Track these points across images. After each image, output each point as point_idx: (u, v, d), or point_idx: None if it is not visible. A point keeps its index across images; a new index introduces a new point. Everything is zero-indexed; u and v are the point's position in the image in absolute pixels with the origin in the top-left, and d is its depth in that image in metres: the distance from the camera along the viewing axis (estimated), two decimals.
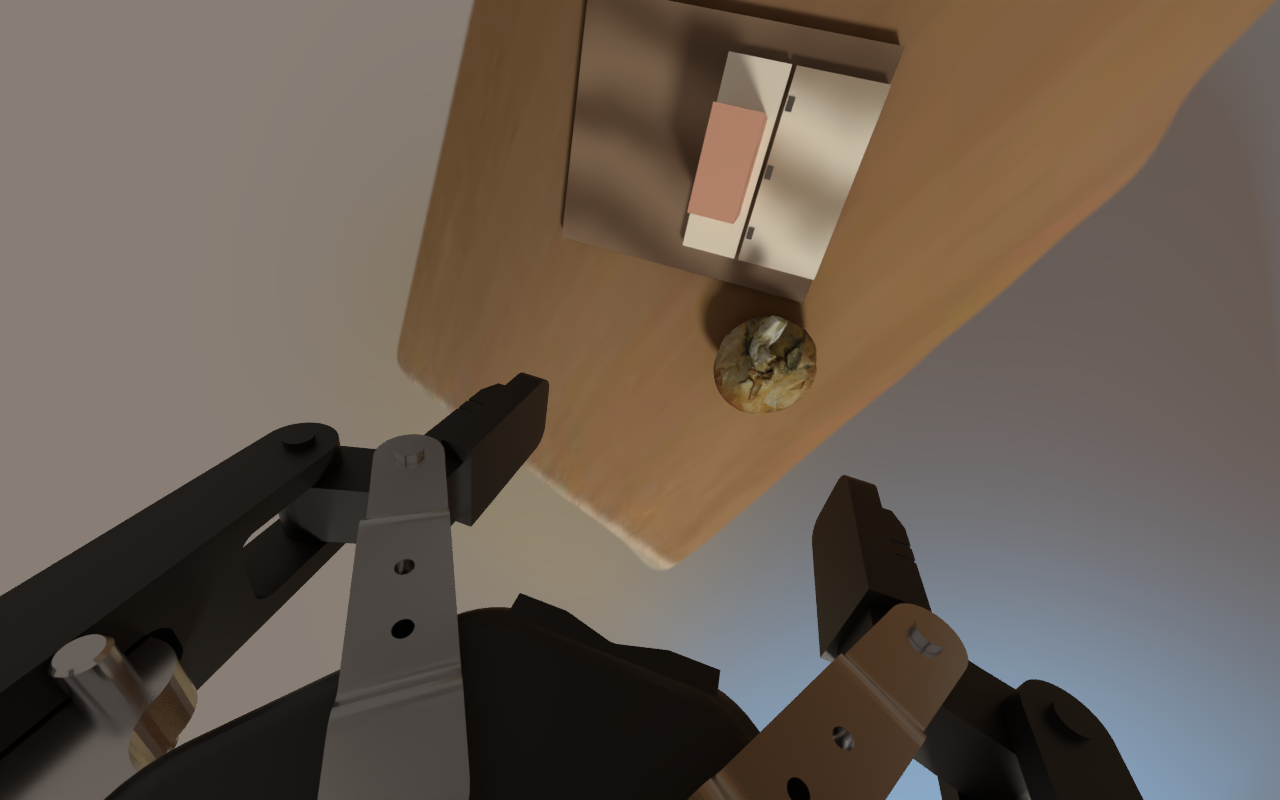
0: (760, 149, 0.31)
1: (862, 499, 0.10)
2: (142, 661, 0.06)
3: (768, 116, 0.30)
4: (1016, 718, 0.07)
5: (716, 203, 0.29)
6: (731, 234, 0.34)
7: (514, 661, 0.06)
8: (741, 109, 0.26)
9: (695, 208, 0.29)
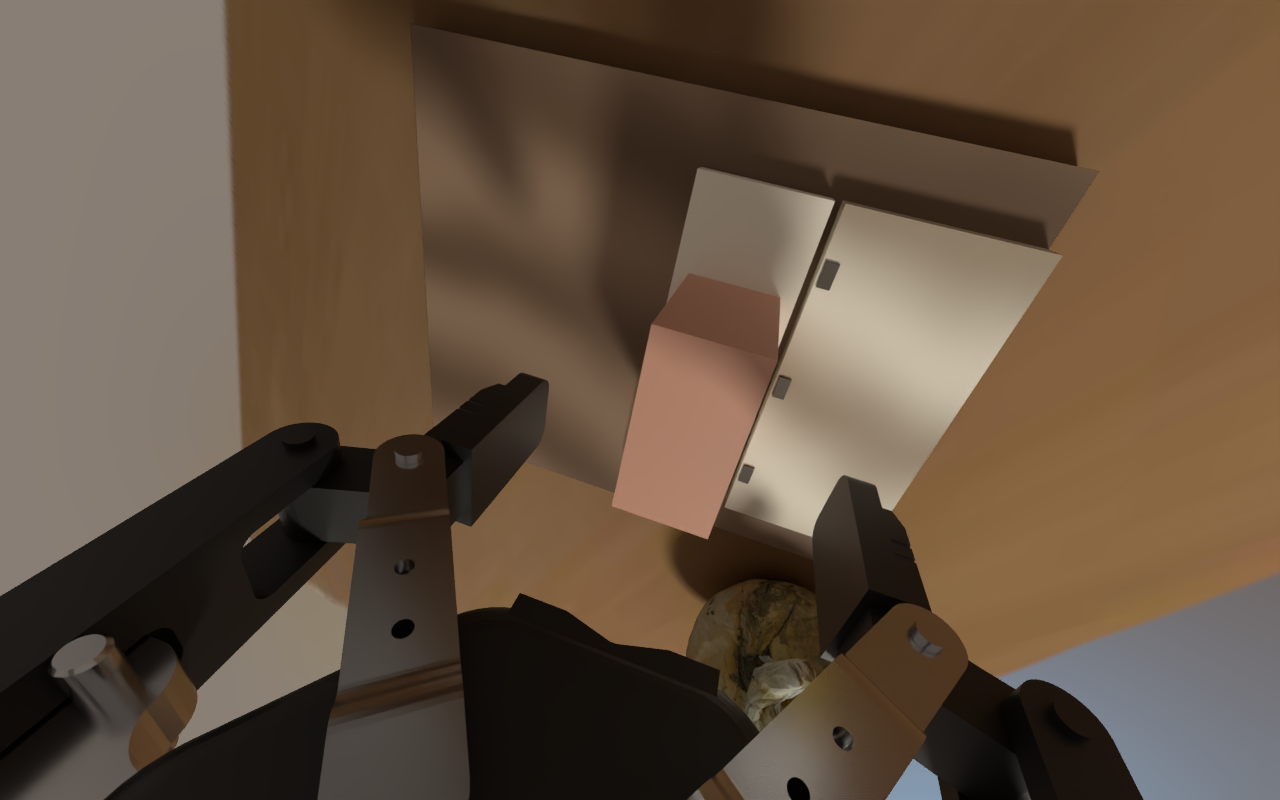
0: None
1: (862, 499, 0.10)
2: (142, 661, 0.06)
3: (781, 294, 0.15)
4: (1016, 718, 0.07)
5: (671, 502, 0.13)
6: None
7: (514, 661, 0.06)
8: (719, 347, 0.11)
9: (627, 502, 0.14)
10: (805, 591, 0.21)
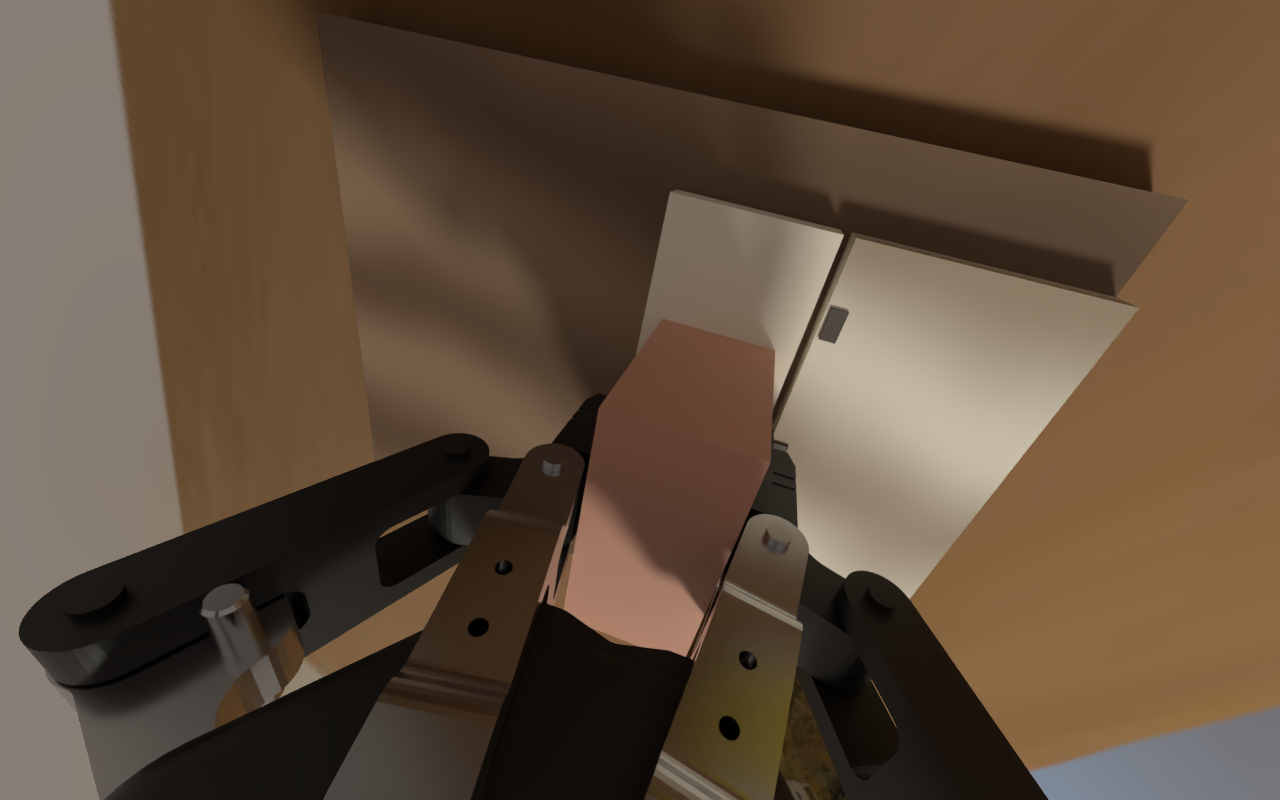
0: None
1: None
2: (269, 618, 0.06)
3: (777, 346, 0.12)
4: (847, 613, 0.08)
5: (635, 618, 0.10)
6: None
7: None
8: (690, 441, 0.08)
9: (581, 613, 0.11)
10: None
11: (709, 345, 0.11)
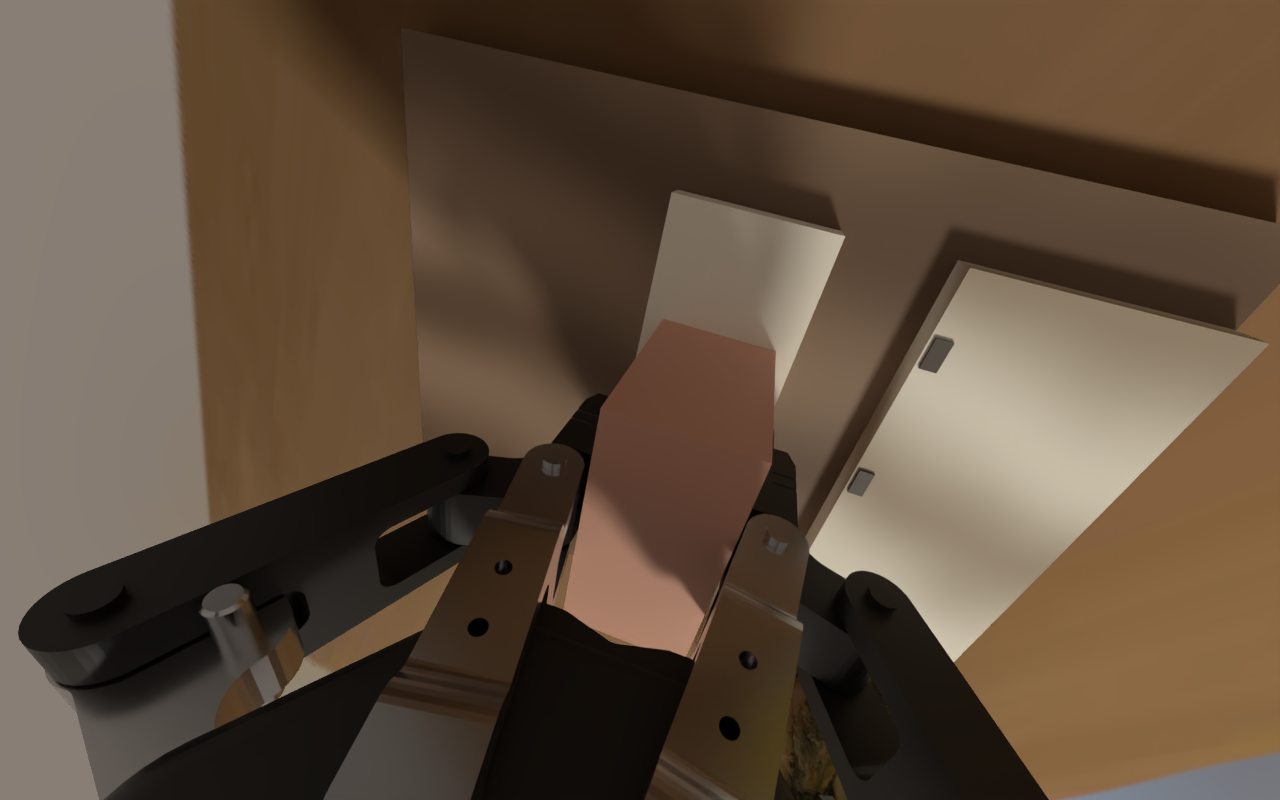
0: None
1: None
2: (269, 618, 0.06)
3: (777, 347, 0.12)
4: (848, 614, 0.08)
5: (635, 619, 0.10)
6: None
7: None
8: (692, 442, 0.08)
9: (581, 614, 0.11)
10: None
11: (710, 346, 0.11)
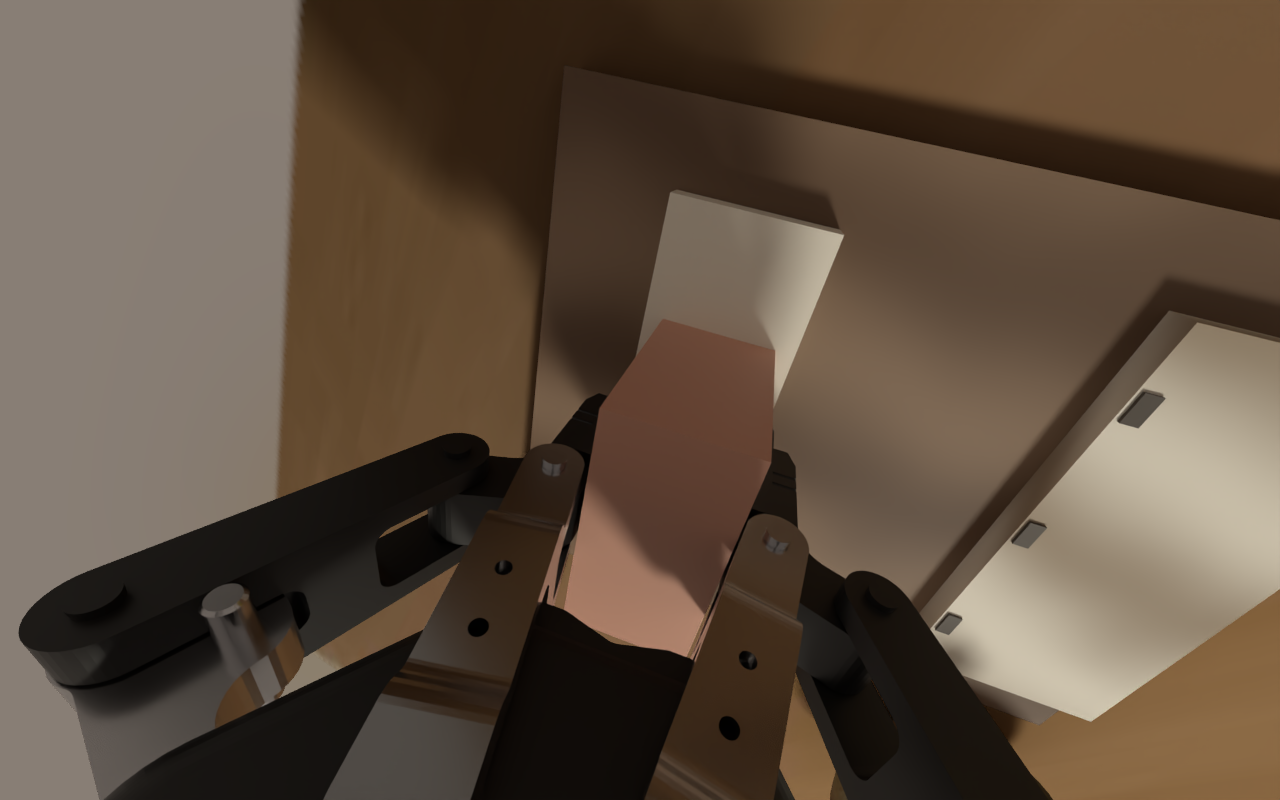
0: None
1: None
2: (269, 618, 0.07)
3: (777, 346, 0.12)
4: (847, 613, 0.08)
5: (636, 619, 0.10)
6: None
7: None
8: (691, 441, 0.08)
9: (581, 613, 0.11)
10: None
11: (709, 345, 0.11)
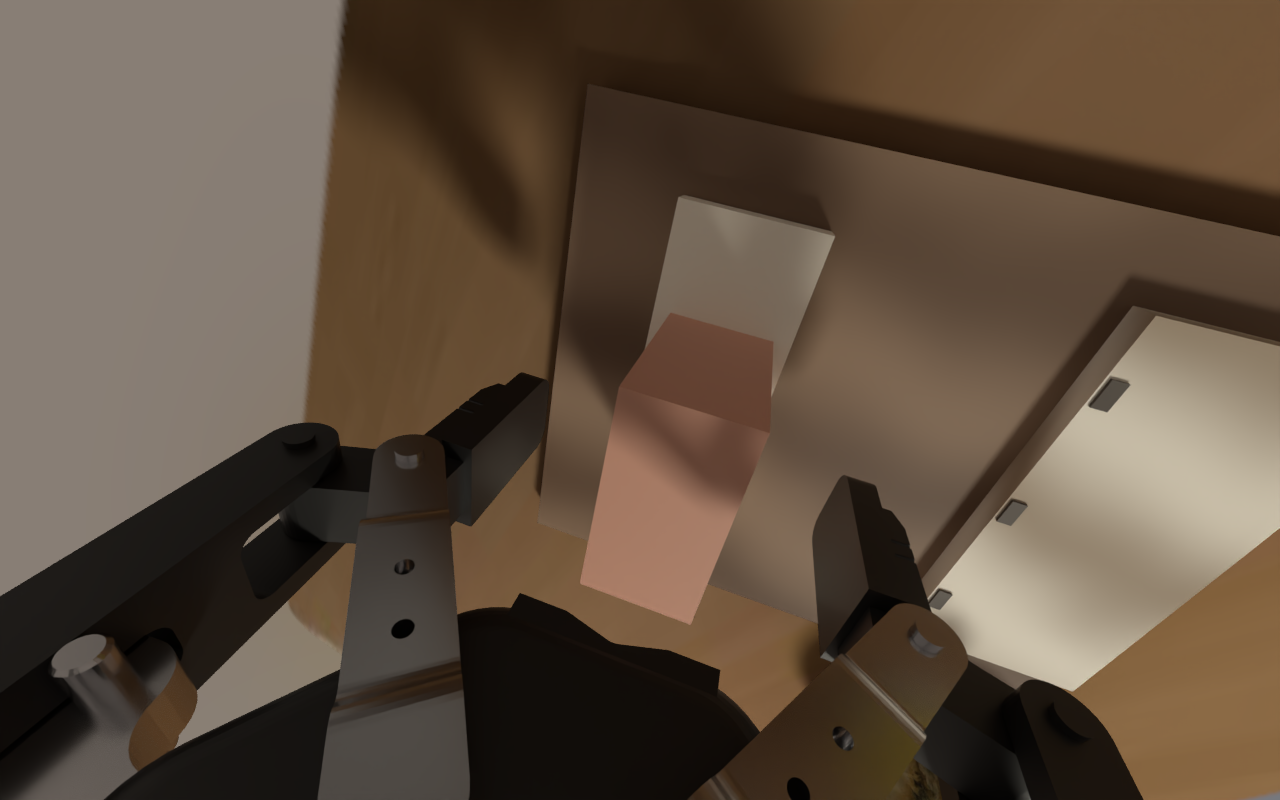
0: None
1: (862, 499, 0.10)
2: (141, 661, 0.06)
3: (775, 337, 0.13)
4: (1016, 718, 0.07)
5: (647, 583, 0.11)
6: None
7: (514, 661, 0.06)
8: (699, 415, 0.09)
9: (597, 580, 0.12)
10: None
11: (713, 336, 0.12)
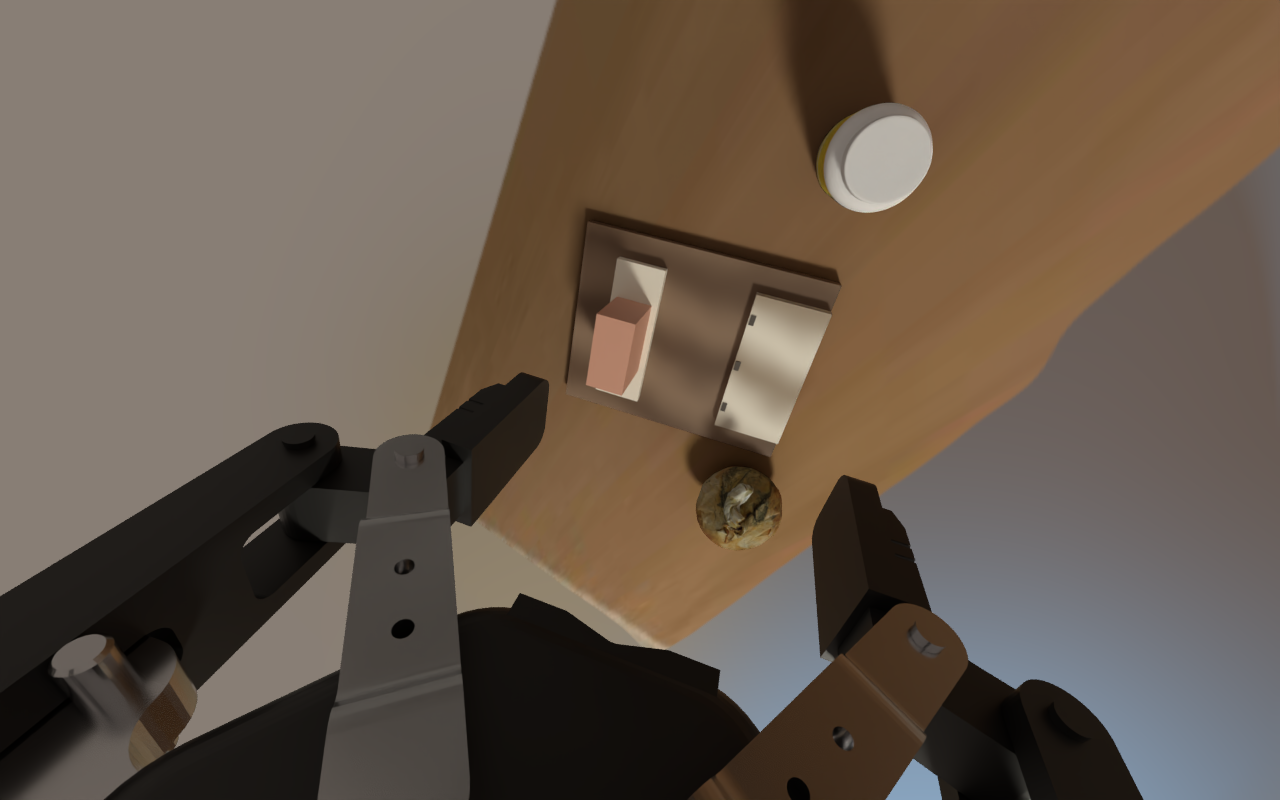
0: (648, 326, 0.38)
1: (862, 499, 0.10)
2: (142, 661, 0.06)
3: (652, 304, 0.38)
4: (1016, 718, 0.07)
5: (607, 380, 0.36)
6: (633, 384, 0.41)
7: (514, 661, 0.06)
8: (617, 320, 0.34)
9: (591, 382, 0.37)
10: (754, 469, 0.43)
11: (630, 303, 0.37)
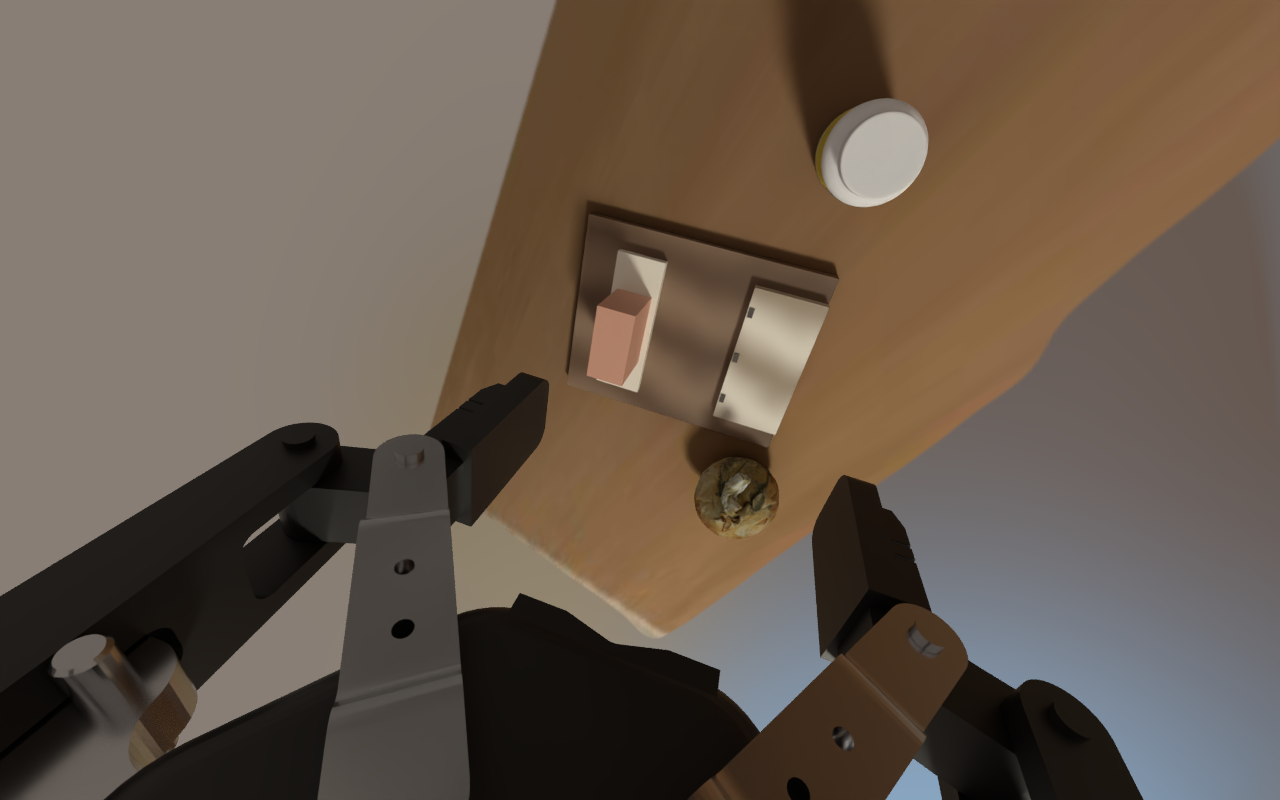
0: (648, 318, 0.39)
1: (862, 499, 0.10)
2: (142, 661, 0.06)
3: (652, 296, 0.38)
4: (1016, 718, 0.07)
5: (607, 371, 0.37)
6: (633, 375, 0.42)
7: (514, 661, 0.06)
8: (618, 312, 0.34)
9: (592, 373, 0.37)
10: (752, 460, 0.43)
11: (630, 295, 0.38)
